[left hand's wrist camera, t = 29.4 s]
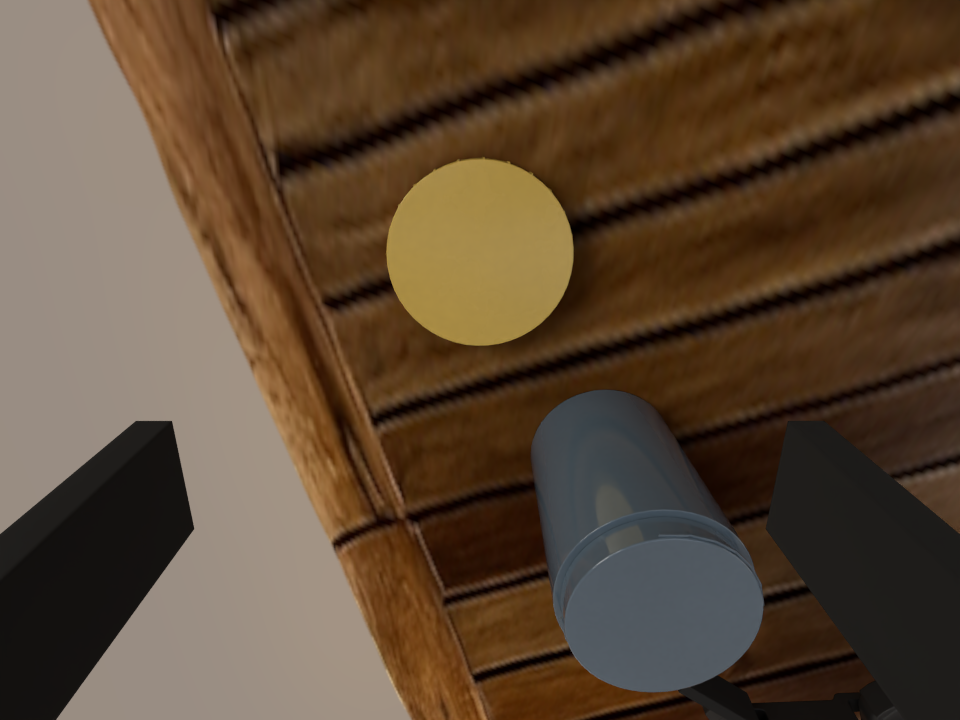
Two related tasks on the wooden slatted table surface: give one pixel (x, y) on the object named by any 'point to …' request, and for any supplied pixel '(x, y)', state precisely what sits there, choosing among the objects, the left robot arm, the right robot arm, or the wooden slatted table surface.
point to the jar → (638, 548)
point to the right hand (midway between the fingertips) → (749, 605)
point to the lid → (480, 251)
